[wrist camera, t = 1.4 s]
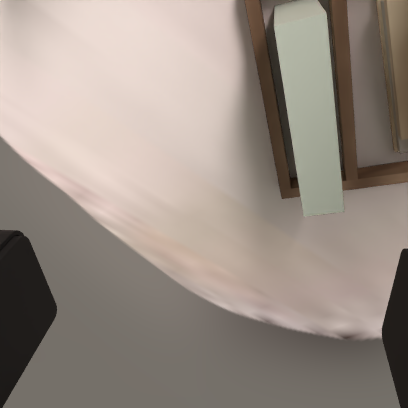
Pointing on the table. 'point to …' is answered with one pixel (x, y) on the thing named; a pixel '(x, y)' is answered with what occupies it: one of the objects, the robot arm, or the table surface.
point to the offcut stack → (395, 66)
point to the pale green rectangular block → (310, 103)
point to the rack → (342, 64)
